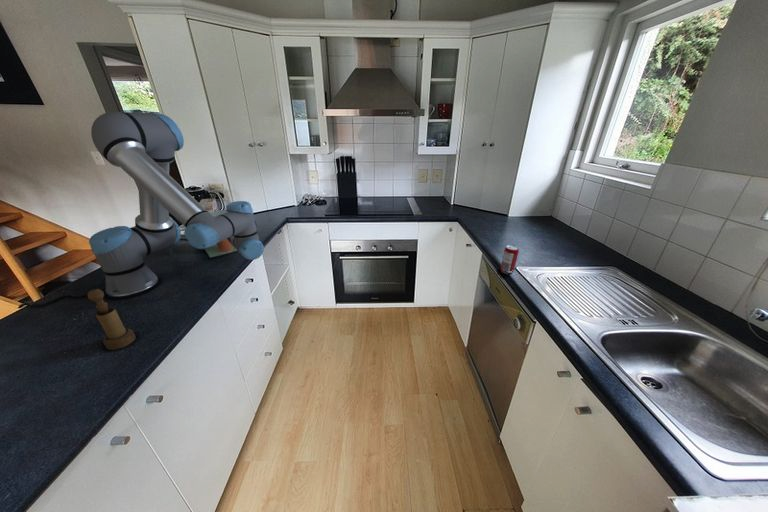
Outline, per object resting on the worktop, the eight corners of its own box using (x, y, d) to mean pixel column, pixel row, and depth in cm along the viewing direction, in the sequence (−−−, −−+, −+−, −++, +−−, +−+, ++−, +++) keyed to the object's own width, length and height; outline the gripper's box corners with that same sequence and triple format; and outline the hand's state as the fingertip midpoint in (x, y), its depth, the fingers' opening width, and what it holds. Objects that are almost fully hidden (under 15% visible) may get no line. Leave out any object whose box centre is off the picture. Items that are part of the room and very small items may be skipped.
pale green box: (210, 258, 128) (199, 221, 120) (205, 250, 136) (194, 214, 128) (246, 249, 138) (237, 214, 130) (239, 242, 146) (230, 208, 138)
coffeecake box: (221, 239, 150) (211, 204, 142) (206, 240, 148) (195, 205, 139) (224, 230, 163) (215, 197, 154) (210, 231, 160) (201, 198, 152)
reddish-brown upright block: (220, 253, 132) (215, 234, 128) (217, 249, 136) (211, 230, 132) (234, 249, 136) (229, 231, 131) (231, 245, 140) (226, 227, 136)
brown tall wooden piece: (141, 334, 83) (116, 283, 75) (124, 350, 77) (94, 297, 69) (119, 334, 83) (91, 284, 75) (99, 350, 77) (67, 297, 69)
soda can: (512, 269, 122) (518, 244, 117) (514, 275, 117) (520, 250, 112) (499, 267, 123) (504, 243, 118) (500, 273, 118) (506, 248, 113)
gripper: (205, 256, 97) (194, 239, 112) (274, 239, 112) (257, 225, 126) (199, 237, 94) (189, 221, 108) (271, 221, 109) (253, 210, 123)
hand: (225, 224), depth 117 cm, fingers open, 13 cm apart
